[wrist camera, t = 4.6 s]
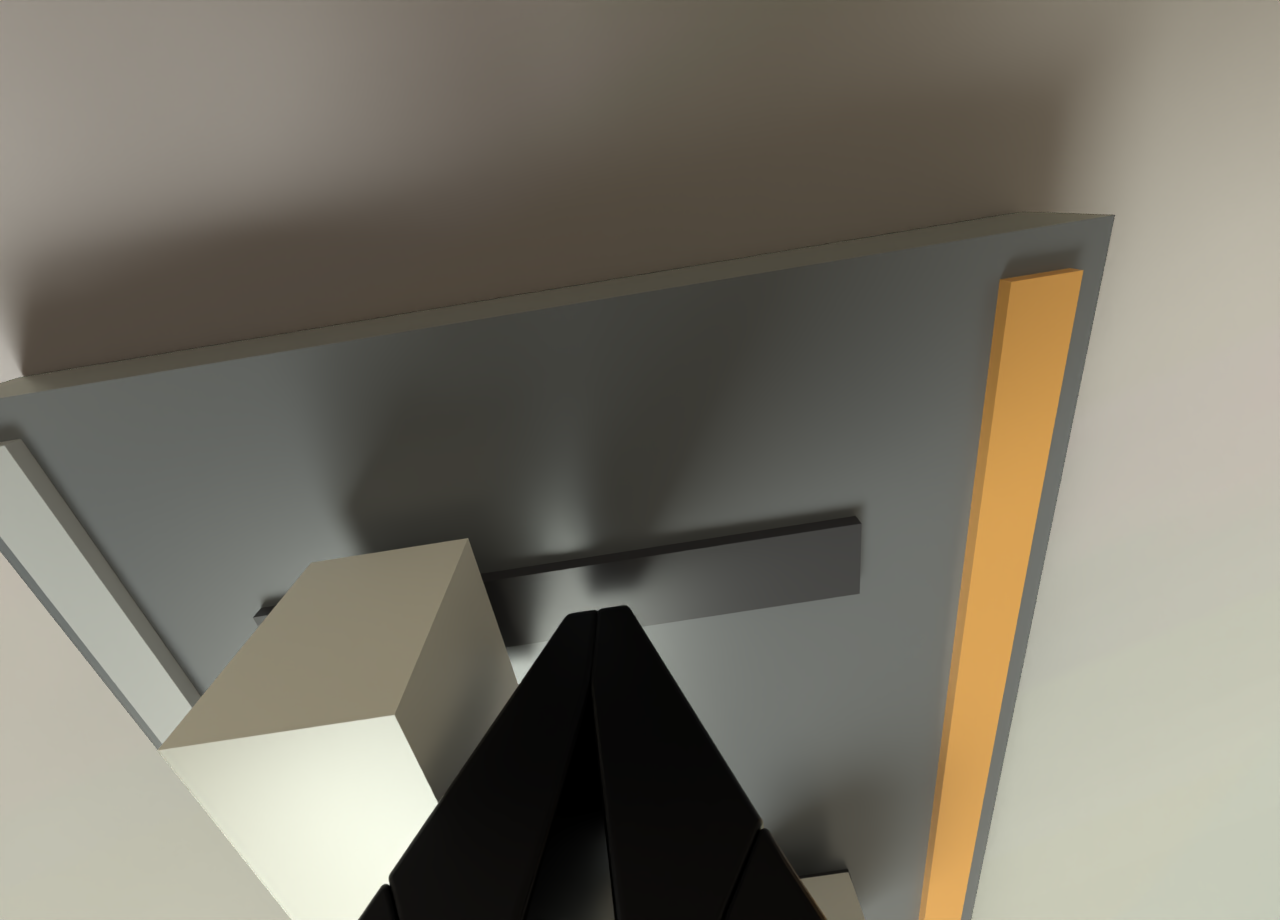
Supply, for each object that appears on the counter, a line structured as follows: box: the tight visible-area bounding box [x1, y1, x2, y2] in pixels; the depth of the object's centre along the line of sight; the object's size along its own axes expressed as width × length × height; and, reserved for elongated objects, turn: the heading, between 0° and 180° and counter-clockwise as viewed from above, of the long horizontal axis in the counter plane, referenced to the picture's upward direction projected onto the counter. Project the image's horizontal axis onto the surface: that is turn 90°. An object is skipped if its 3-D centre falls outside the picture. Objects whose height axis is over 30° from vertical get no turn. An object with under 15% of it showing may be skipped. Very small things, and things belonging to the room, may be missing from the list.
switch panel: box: [0, 212, 1115, 920], centre depth 12 cm, size 14×25×2 cm, turn 9°
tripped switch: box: [157, 538, 518, 920], centre depth 6 cm, size 2×3×3 cm, turn 9°
